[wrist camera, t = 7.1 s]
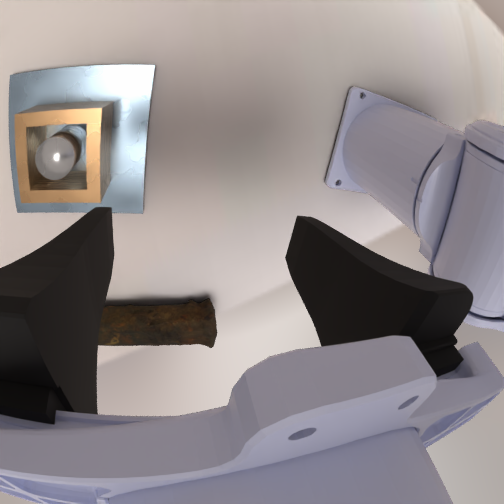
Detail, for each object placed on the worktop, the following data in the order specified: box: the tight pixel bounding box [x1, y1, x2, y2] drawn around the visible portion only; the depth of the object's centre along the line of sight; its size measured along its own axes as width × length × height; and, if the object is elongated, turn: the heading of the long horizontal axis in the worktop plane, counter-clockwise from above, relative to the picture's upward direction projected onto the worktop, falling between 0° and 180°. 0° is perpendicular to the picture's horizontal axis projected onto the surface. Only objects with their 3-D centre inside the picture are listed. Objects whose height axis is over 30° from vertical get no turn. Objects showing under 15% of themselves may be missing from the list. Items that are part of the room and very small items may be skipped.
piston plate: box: [9, 65, 156, 214], centre depth 15 cm, size 10×10×4 cm
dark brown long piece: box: [98, 299, 217, 348], centre depth 23 cm, size 19×4×5 cm, turn 79°
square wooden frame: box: [15, 101, 114, 203], centre depth 15 cm, size 5×5×3 cm
